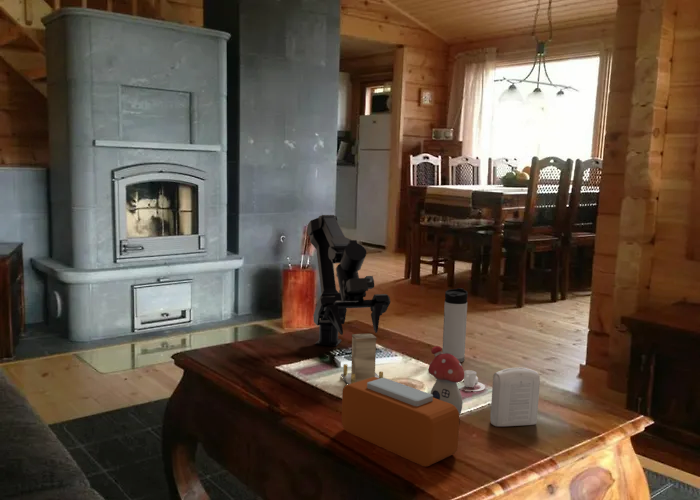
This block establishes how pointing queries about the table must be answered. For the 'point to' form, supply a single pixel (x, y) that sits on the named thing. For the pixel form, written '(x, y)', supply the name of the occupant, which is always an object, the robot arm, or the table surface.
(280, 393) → the table surface
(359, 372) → the wooden block
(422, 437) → the alarm clock
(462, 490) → the table surface
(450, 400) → the decorative ornament
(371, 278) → the robot arm
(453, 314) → the travel mug
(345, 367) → the pin base
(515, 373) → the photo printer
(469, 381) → the teacup and saucer
